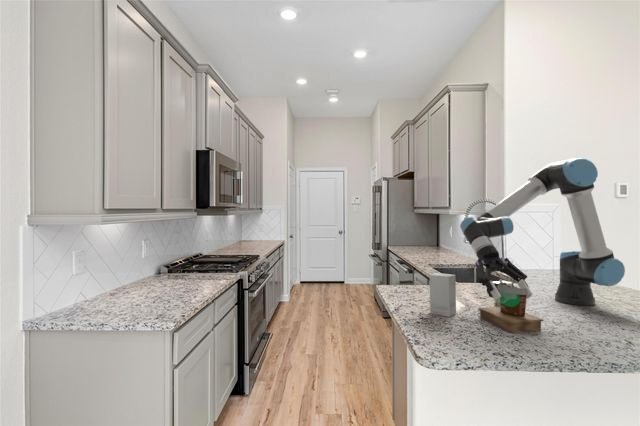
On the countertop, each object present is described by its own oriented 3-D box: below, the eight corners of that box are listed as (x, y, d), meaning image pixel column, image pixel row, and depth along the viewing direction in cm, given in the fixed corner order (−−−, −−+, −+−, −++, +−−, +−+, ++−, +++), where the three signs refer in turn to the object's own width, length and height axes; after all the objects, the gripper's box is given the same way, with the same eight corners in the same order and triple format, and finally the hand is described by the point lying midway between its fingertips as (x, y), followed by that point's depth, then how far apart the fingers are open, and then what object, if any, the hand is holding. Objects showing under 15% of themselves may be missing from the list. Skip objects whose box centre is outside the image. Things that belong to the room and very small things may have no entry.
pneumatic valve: (515, 308, 154) (515, 279, 154) (495, 310, 149) (495, 281, 149) (503, 304, 159) (504, 277, 159) (484, 307, 154) (484, 279, 154)
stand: (508, 316, 141) (508, 306, 141) (543, 331, 124) (543, 319, 124) (478, 318, 139) (478, 307, 139) (509, 333, 122) (509, 321, 122)
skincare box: (456, 314, 144) (457, 274, 144) (449, 317, 139) (449, 276, 139) (436, 310, 149) (436, 272, 149) (428, 313, 144) (429, 274, 144)
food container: (489, 308, 137) (490, 282, 137) (504, 308, 138) (505, 281, 138) (511, 318, 125) (511, 289, 125) (527, 317, 126) (528, 288, 126)
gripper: (506, 255, 149) (536, 301, 135) (453, 257, 143) (479, 305, 128) (516, 243, 144) (549, 290, 130) (462, 244, 138) (490, 293, 123)
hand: (514, 297), depth 129 cm, fingers open, 13 cm apart
